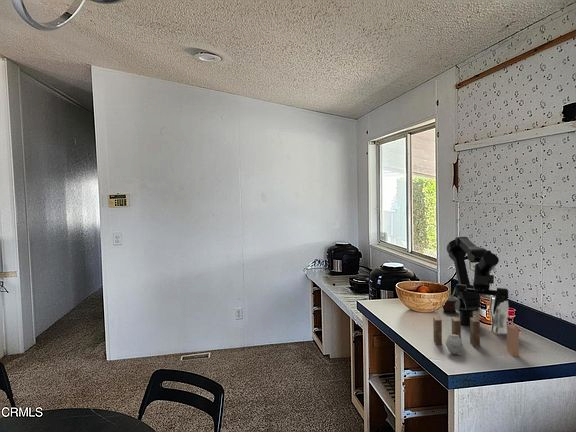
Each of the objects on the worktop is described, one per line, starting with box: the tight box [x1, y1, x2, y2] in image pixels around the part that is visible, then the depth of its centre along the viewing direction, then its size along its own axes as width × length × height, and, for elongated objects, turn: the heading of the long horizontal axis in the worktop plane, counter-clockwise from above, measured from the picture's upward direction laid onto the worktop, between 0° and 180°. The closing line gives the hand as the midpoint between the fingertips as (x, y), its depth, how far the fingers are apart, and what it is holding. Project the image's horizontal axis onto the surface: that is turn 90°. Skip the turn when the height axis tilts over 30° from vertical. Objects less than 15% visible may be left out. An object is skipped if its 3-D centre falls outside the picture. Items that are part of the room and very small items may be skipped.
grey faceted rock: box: [445, 333, 464, 355], centre depth 147 cm, size 6×7×7 cm
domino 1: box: [432, 315, 443, 346], centre depth 158 cm, size 2×5×10 cm, turn 168°
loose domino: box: [506, 324, 520, 357], centre depth 146 cm, size 2×5×10 cm, turn 168°
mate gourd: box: [442, 286, 458, 315], centre depth 198 cm, size 8×8×15 cm
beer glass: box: [489, 295, 509, 335], centre depth 168 cm, size 7×7×15 cm
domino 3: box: [469, 317, 481, 348], centre depth 155 cm, size 2×5×10 cm, turn 168°
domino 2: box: [451, 316, 462, 340], centre depth 157 cm, size 2×5×10 cm, turn 168°
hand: (480, 312), depth 152 cm, fingers open, 9 cm apart
